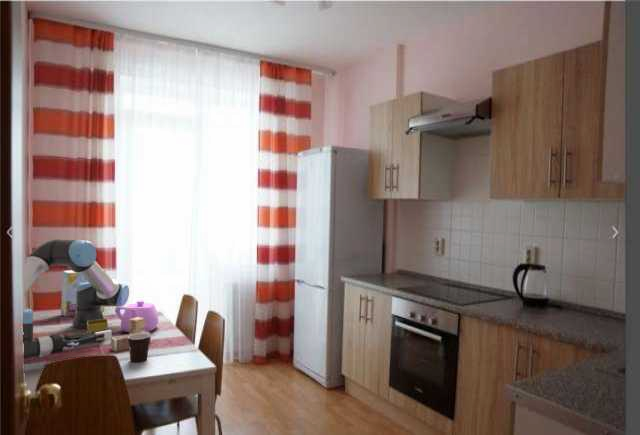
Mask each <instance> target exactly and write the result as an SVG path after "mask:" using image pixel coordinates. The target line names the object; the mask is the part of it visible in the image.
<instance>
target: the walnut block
mask: <svg viewBox="0 0 640 435" xmlns="http://www.w3.org/2000/svg"><path fill="white" fill-rule="evenodd" d="M139 333H146V334H150V342H149V345H150V344H151V343H152V342H151V336H152V334H151V332H150V331H148V332H147V331H143V332H138V333H133V334H139ZM133 334H129V333H128V334H124V335H117V336H114V337H113V336H111V337H110V349H111V350H112V351H114V352H118V351H122V350H123V351H124V350H129V349H128V348H129V342H128V336H130V335H133Z"/></svg>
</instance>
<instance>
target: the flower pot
mask: <svg viewBox="0 0 640 435" xmlns="http://www.w3.org/2000/svg"><path fill="white" fill-rule="evenodd" d="M108 327H109V319H108V318H104V319H99V320H89V321H87V328H86V329H87V333H88V332H91V333H92V331H94V334H95V333H96V332H102V331H107V330H108ZM105 339H106V338H102V339H97V340H96V342H103V341H104V340H105Z"/></svg>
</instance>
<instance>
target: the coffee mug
mask: <svg viewBox="0 0 640 435" xmlns="http://www.w3.org/2000/svg"><path fill="white" fill-rule="evenodd" d="M128 342H129V349H128V350H129V356H130V357H129V360H130V363H133V364H134V363H135V364H139V363H143V362H146V361H147V360H148V354H149V350H150V349H149V348H150V344H149V342H150V334H146V333H139V334H133V335H130V336H128ZM150 343H151V342H150Z"/></svg>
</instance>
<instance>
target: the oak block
mask: <svg viewBox="0 0 640 435" xmlns="http://www.w3.org/2000/svg"><path fill="white" fill-rule="evenodd" d="M143 331H145V318H140V317H136V318H132V319H129V333H128V334H133V333H138V332H143Z"/></svg>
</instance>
